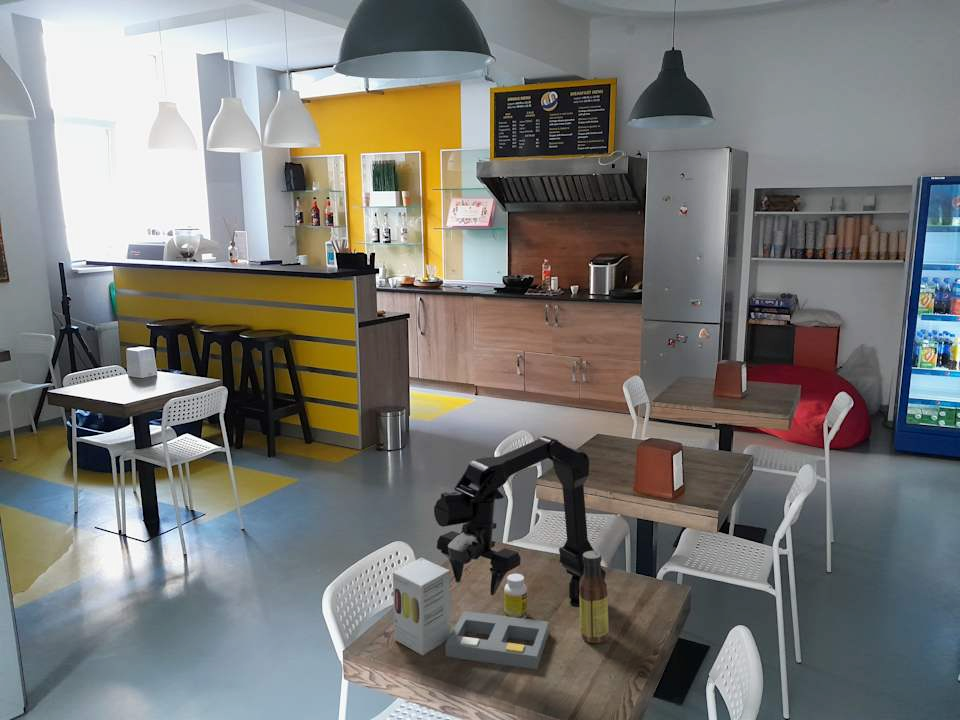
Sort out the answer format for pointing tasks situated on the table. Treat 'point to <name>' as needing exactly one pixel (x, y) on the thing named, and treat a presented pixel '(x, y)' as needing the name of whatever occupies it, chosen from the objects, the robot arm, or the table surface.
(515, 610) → the supplement bottle
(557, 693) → the table surface
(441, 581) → the supplement box
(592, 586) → the sauce bottle
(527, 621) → the socket board
